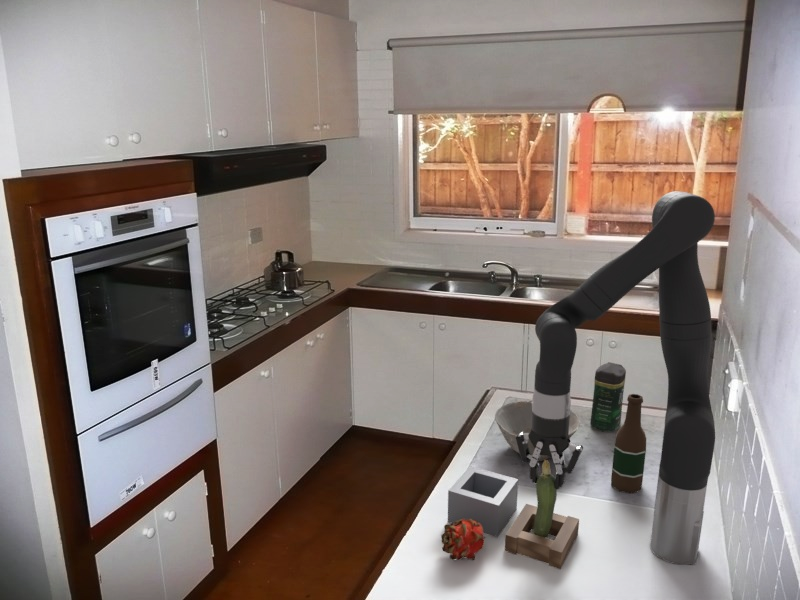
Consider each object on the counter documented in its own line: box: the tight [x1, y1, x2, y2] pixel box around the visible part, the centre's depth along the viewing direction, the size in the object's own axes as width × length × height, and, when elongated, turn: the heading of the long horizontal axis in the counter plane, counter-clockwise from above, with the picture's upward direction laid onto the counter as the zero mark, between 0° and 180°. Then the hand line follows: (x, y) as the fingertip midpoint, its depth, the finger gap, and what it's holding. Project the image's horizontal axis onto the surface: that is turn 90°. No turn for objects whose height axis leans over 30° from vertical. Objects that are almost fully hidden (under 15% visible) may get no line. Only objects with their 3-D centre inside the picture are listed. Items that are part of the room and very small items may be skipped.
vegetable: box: [533, 459, 558, 538], centre depth 142 cm, size 4×4×20 cm
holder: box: [447, 465, 519, 539], centre depth 154 cm, size 12×12×8 cm
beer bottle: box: [610, 393, 647, 494], centre depth 164 cm, size 8×8×24 cm
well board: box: [504, 503, 580, 570], centre depth 145 cm, size 12×13×4 cm
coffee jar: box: [589, 362, 627, 433], centre depth 195 cm, size 10×8×19 cm
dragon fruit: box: [440, 518, 486, 561], centre depth 141 cm, size 8×8×12 cm
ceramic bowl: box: [494, 400, 581, 462], centre depth 182 cm, size 22×23×10 cm
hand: (546, 483), depth 141 cm, fingers closed on vegetable, 4 cm apart
